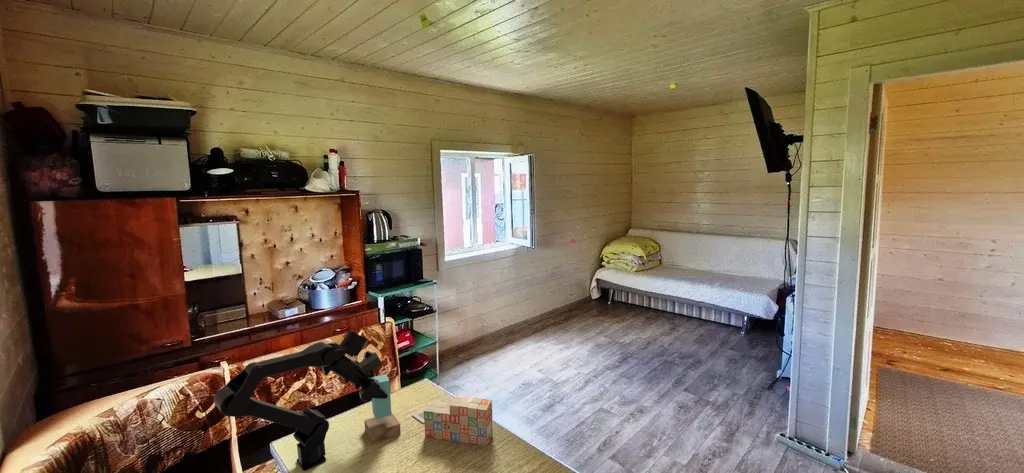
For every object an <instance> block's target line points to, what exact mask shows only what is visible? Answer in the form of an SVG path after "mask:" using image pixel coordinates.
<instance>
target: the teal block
mask: <svg viewBox="0 0 1024 473" xmlns="http://www.w3.org/2000/svg"><path fill="white" fill-rule="evenodd" d="M372 378H374V379H375V380H378V382H379V385H380V388H381V389H382V390H383V391H384V392H385V393H386V394H387V395H388V397H387V398H386V399H381V398H371V406H372V408H371V410H372V414H373V416H374V417H375V419H379V418H383V417H387V416H390V415H391V412H392V402H391V383H390V379H389V377H388V375H387V374H382V375H377V376H374V377H372ZM372 378H371V379H372Z"/></svg>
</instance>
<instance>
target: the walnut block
mask: <svg viewBox="0 0 1024 473" xmlns="http://www.w3.org/2000/svg"><path fill="white" fill-rule="evenodd" d="M363 422H364V431H365V433H366V435H367V436H368V439H369V440H370V441H371V443H372V445H374V444H377V443H380V442H383V441H385V440H386V441H387V440H388V439H391V438H394V437H397V436H399V435H401V423H400V421H398V419H397V418H396V416H395V414H393V412H392V411H391V415H390V416H387V417H383V418H379V419H375V417H373V416H372V417H370V418H367V419H365V420H364V421H363Z"/></svg>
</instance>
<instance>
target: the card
mask: <svg viewBox="0 0 1024 473" xmlns="http://www.w3.org/2000/svg"><path fill="white" fill-rule="evenodd" d="M425 409H426V408H424V409H422V410H420V411H417V412H415V413H412V415H411V416H412V417H413V418H414V417H415V420H418V421H419V422H420V423H422V424H425V423H424V410H425Z"/></svg>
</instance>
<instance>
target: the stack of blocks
mask: <svg viewBox="0 0 1024 473" xmlns="http://www.w3.org/2000/svg"><path fill="white" fill-rule="evenodd" d="M424 409H425V410H424ZM424 409H423V410H424V423H423V424H424V437H427V438H432V439H433V438H434V439H439V440H444V441H445V440H446V441H452V442H457V443H464V444H465V443H467V444H471V445H476V446H477V445H478V446H482V447H483V446H484V447H488V445H489V443H490V441H491V439H492V437H493V434H494V430H493V429H494V428H493V400H491V399H485V398H484V399H483V398H482V397H471V396H462V395H461V396H460V395H456V396H455V397H454V399H453V400H452V401H451V403H449V402H448V403H447V402H439V401H431V402H429V404H428V405H427V406H426V407H425V408H424Z"/></svg>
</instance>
